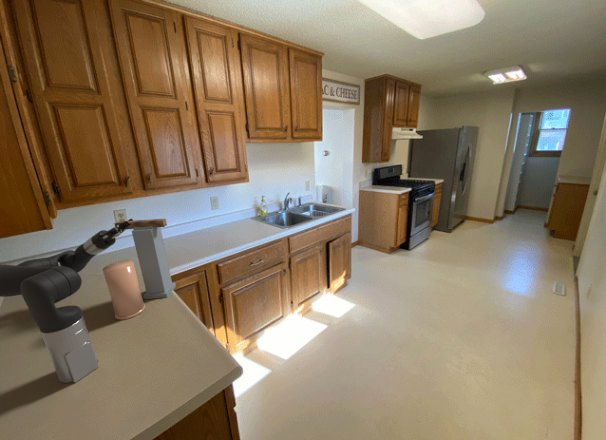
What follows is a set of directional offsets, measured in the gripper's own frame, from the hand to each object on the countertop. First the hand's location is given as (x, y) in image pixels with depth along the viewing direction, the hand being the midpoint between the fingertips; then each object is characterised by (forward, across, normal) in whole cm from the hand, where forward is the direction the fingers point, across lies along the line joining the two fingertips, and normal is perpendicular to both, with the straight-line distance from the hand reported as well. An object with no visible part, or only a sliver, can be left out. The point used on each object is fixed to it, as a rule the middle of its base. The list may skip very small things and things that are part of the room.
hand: (130, 221), depth 110 cm
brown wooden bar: (+2, 0, -5) cm, 5 cm away
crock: (-18, +14, -30) cm, 38 cm away
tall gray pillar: (-12, 0, -34) cm, 36 cm away
